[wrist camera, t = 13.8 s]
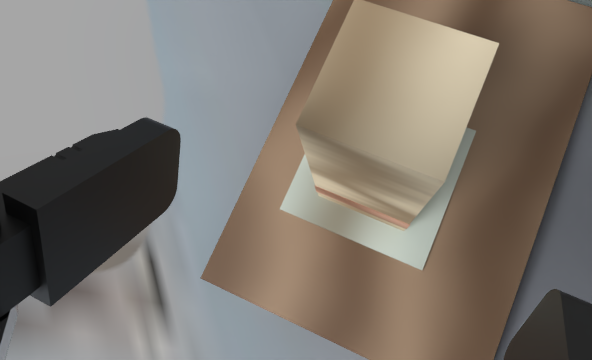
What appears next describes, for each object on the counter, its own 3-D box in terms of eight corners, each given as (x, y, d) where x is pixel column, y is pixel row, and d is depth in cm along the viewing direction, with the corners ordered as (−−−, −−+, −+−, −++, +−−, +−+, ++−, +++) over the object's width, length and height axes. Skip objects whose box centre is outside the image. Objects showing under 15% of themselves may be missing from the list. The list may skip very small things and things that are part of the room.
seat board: (597, 29, 25) (615, 11, 24) (467, 403, 22) (476, 412, 20) (360, -41, 28) (361, -62, 26) (209, 279, 24) (199, 278, 23)
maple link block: (437, 148, 23) (500, 42, 13) (403, 231, 22) (445, 183, 12) (352, 117, 24) (354, -4, 14) (317, 196, 23) (293, 125, 13)
